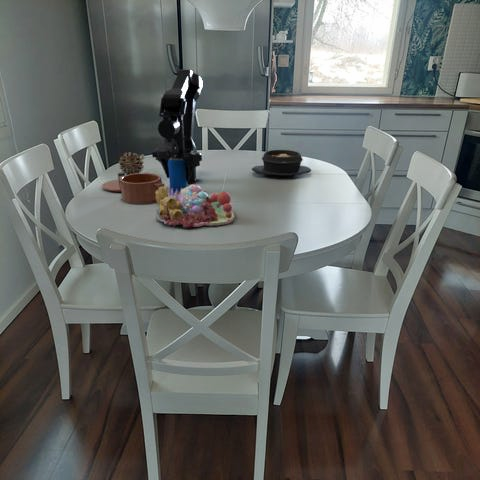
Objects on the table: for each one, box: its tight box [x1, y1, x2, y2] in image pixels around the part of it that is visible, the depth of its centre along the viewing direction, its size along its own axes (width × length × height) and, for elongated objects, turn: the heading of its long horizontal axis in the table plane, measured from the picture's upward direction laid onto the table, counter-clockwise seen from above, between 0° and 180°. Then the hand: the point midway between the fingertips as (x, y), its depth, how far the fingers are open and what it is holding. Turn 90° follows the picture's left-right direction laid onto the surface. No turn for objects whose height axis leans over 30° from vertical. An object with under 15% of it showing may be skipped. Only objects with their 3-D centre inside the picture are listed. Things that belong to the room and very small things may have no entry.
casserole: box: [251, 149, 313, 178], centre depth 188 cm, size 25×19×8 cm
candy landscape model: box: [155, 183, 235, 229], centre depth 141 cm, size 25×24×9 cm
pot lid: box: [101, 171, 126, 193], centre depth 170 cm, size 15×15×5 cm
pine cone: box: [118, 151, 146, 175], centre depth 186 cm, size 22×10×10 cm, turn 177°
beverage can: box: [168, 157, 189, 194], centre depth 164 cm, size 6×6×12 cm
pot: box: [117, 172, 165, 205], centre depth 158 cm, size 14×19×7 cm
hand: (178, 179), depth 165 cm, fingers open, 9 cm apart
